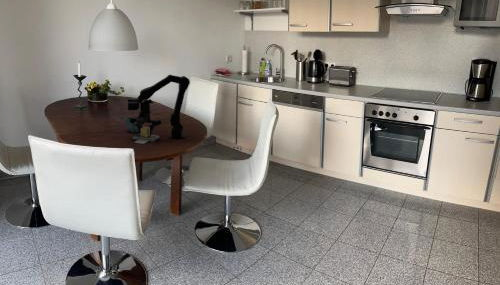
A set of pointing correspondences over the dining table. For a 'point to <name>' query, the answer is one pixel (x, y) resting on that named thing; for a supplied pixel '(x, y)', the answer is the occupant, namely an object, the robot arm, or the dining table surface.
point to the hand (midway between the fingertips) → (145, 134)
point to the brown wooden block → (145, 132)
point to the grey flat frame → (152, 138)
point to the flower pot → (131, 125)
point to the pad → (141, 141)
